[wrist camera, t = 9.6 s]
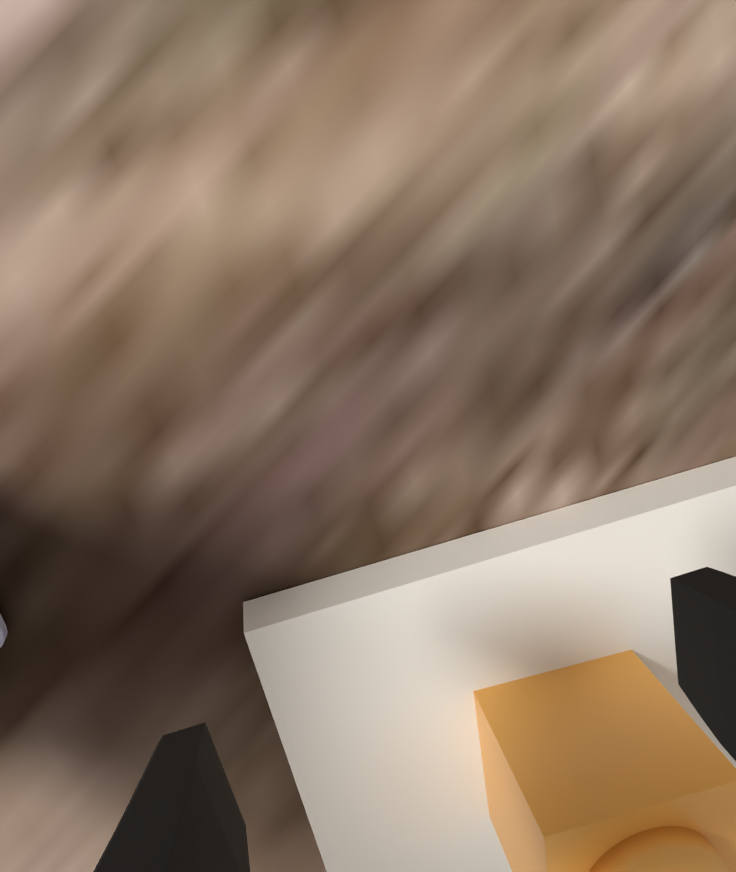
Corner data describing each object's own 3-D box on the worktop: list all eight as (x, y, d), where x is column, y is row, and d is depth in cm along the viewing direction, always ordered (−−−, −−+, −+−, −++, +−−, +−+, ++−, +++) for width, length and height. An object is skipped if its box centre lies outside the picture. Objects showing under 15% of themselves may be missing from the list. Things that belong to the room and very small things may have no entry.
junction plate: (353, 926, 25) (381, 1096, 20) (243, 602, 20) (245, 726, 15) (761, 786, 26) (875, 913, 22) (754, 451, 21) (899, 522, 17)
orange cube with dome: (489, 816, 22) (571, 1016, 17) (473, 691, 20) (559, 869, 15) (635, 774, 23) (760, 955, 17) (631, 649, 21) (769, 806, 16)
